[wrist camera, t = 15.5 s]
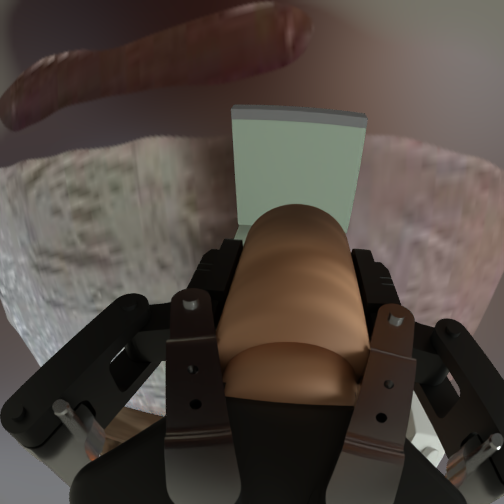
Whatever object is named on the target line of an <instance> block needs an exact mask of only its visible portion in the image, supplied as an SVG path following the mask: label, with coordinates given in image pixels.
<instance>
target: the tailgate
mask: <svg viewBox="0 0 504 504" xmlns="http://www.w3.org/2000/svg"><path fill="white" fill-rule="evenodd" d="M231 118H232V133H233V150H234V166H235V182H236V198H237V214H238V225H253V224H254V222H255V221H256V220H257V219H258V218H259V217H260V216H261V215H263V214H264V213H266V212H267V211H269V210H271V209H273V208H276V207H279V206H283V205H288V204H305V205H310V206H314V207H317V208H319V209H321V210H323V211H325V212H327V213H328V214H330V215H331V216H332V217H334V219H335V220H336V221H337V222H338V223H339V224H340V225H341V227H342V228H343V230H344V232H345V233H347V230H348V225H349V220H350V216H351V211H352V206H353V201H354V196H355V191H356V185H357V180H358V175H359V169H360V163H361V157H362V151H363V145H364V139H365V132H366V126H367V120H368V118H367V117H366V115H365V113H356V112H349V111H341V110H331V109H320V108H309V107H294V106H274V105H233V107H232V108H231Z"/></svg>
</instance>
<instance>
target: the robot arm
mask: <svg viewBox="0 0 504 504" xmlns="http://www.w3.org/2000/svg"><path fill="white" fill-rule="evenodd" d="M242 249H243V241H242V240H239V239H224V241H223V243H222V245H221V248H220V250H217V249H211V250H210V251H208V252H207V253H206V254H204V255H203V257H202V259H201V261H200V264H199V265H198V267H197V270H196V271H195V273H194V275H193V277H192V279H191V281H190V283H189V285H188V287H187V289H183V290H181V291H179V292H177V293H176V294H175V295H174V296H173V297H172V299H171V302H169V303H164V304H154V305H149V303H148V300H147V298H146V297H145V296H143V295H141V294H136V293H132V294H126V295H123V296H121V297H119V298H117V299H116V300H115V301H114V302H112V303H111V304H110V305H109V306H108V307H107V308H106V309H104V310H103V311H102V312H101V313H100V314H99V315H98V316H97V317H95V318H94V319H93V320H92V321H91V322H90V323H89V324H88V325H86V326H85V327H84V328H83V329H82V330H81V331H80V332H79V333H78V334H76V335H75V336H74V337H73V338H72V339H71V340H70V341H69V342H68V343H67V344H65V345H64V346H63V347H62V348H61V349H60V350H59V351H58V352H57V353H56V354H55V355H54V356H53V357H51V358H50V359H49V360H48V361H47V362H46V363H45V364H44V365H43V366H42V367H41V368H40V369H39V370H38V371H37V372H36V373H35V374H34V375H33V376H32V377H30V378H29V379H28V380H27V381H26V382H25V383H24V384H23V385H22V386H21V387H20V388H19V389H18V390H17V391H16V392H15V393H14V394H13V395H12V396H11V397H10V398H9V399H8V400H7V401H6V402H5V404H4V405H3V407H2V409H1V414H0V419H1V423H2V425H3V427H4V428H5V430H7V431H8V432H9V433H10V434H11V435H12V436H13V437H14V438H15V439H16V440H17V441H18V443H19V444H20V445H21V446H22V447H23V448H24V449H26V450H27V451H28V452H29V453H30V454H31V455H33V456H34V457H35V458H36V459H38V460H39V461H41V462H43V463H44V464H45V465H46V466H48V467H49V468H50V469H51V470H52V471H53V472H54V473H55V474H56V475H57V476H58V477H59V478H61V480H63V481H64V482H65V483H66V484H67V485H68V486H69V487H71V488H70V493H69V496H70V497H69V501H70V504H490V503H492V502H494V501H495V500H497V499H499V498H500V497H502V496H504V380H503V378H502V377H501V376H500V374H499V373H498V371H497V370H496V368H495V367H494V366H493V364H492V363H491V361H490V360H489V359H488V357H487V356H486V354H484V352H483V350H482V349H481V348H480V347H479V345H478V344H477V343H476V341H475V340H474V339H473V337H472V336H471V335H470V333H469V332H468V331H467V329H466V328H465V327H464V326H463V325H462V324H461V323H459V322H458V321H455V320H453V319H441V320H439V321H438V322H437V323H436V325H435V328H434V327H430V326H427V325H423V324H420V323H417V322H415V318H414V315H413V314H412V312H411V311H410V310H408V309H407V308H406V307H404V306H402V305H401V303H400V300H399V297H398V295H397V292H396V289H395V286H394V284H393V281H392V279H391V276H390V273H389V270H388V269H387V268H386V267H385V266H384V265H383V264H382V263H381V262H374V259H373V256H372V253H371V251H370V250H364V249H353V250H352V252H351V256H352V260H353V264H354V269H355V273H356V277H357V282H358V286H359V290H360V295H361V300H362V304H363V309H364V314H365V319H366V324H367V329H368V334H369V340H370V349H369V355H368V358H367V361H366V363H365V366H364V368H363V371H362V373H361V375H360V378H359V380H358V382H357V390H358V392H357V395H356V392H355V402H354V405H353V406H338V405H310V404H294V403H281V402H270V401H260V400H251V399H243V398H235V397H227V396H225V392H224V390H225V386H226V383H225V382H223V379H222V372H221V366H220V359H219V352H218V345H217V338H216V334H215V333H216V330H217V326H218V323H219V320H220V317H221V314H222V311H223V308H224V305H225V301H226V298H227V295H228V292H229V289H230V286H231V283H232V280H233V277H234V274H235V270H236V267H237V264H238V261H239V258H240V255H241V252H242ZM124 347H125V349H124V350H123V351H122V352H121V353H120V354H119V355H118V356H117V357H116V358H115V359H114V360H113V361H112V359H113V358H114V357H115V356H116V355H117V354H118V353H119V352H120V351H121V350H122V349H123V348H124ZM111 361H112V362H111ZM161 361H166V416H164V417H163V418H161V419H160V420H158V421H157V422H155V423H154V424H152V425H150V426H149V427H147V428H146V429H144V430H143V431H141V432H140V433H138V434H136V435H135V436H133V437H132V438H130V439H128V440H127V441H125V442H123V443H122V444H120V445H118V446H117V447H115V448H113V449H112V450H110V451H108V452H107V453H105V454H103V455H102V456H100V457H99V454H100V453H101V452H102V451H103V446H104V443H105V439H106V436H105V432H104V429H105V428H106V427H107V426H108V425H109V424H110V422H111V421H112V420H113V419H114V418H115V416H116V415H117V414H118V413H119V412H120V411H121V409H122V408H123V407H124V406H125V405H126V403H127V402H128V401H129V400H130V399H131V398H132V396H133V395H134V394H135V393H136V392H137V390H138V389H139V388H140V387H141V386H142V385H143V383H144V382H145V381H146V380H147V379H148V377H149V376H150V375H151V374H152V373H153V371H154V370H155V369H156V368H157V367H158V366H159V364H160V363H161ZM449 372H450V373H451V375H452V376H453V378H454V380H455V381H456V383H457V384H458V386H459V388H460V397H459V396H458V394H457V392H456V391H455V389H454V387H453V386H452V384H451V382H450V381H449V379H448V377H447V374H448V373H449ZM413 390H414V392H415V394H416V396H417V398H418V399H419V401H420V403H421V405H422V407H423V409H424V411H425V413H426V415H427V417H428V419H429V421H430V423H431V424H432V426H433V428H434V430H435V432H436V434H437V436H438V438H439V440H440V443H441V445H442V447H443V449H444V451H445V453H446V455H447V457H448V459H449V460H448V462H447V467H446V468H447V469H446V471H447V473H446V474H445V476H444V475H443V474H442V473H441V472H440V471H439V470H438V469H437V468H436V467H435V466H434V465H433V464H432V463H431V462H430V461H429V460H428V459H427V458H426V457H425V456H424V455H423V454H422V453H421V452H420V451H419V450H418V449H417V448H416V447H415V446H414V445H413V444H412V443H411V442H410V441H409V440H408V439H407V438H406V433H407V428H408V422H409V416H410V410H411V404H412V397H413Z"/></svg>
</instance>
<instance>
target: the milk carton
mask: <svg viewBox="0 0 504 504" xmlns="http://www.w3.org/2000/svg"><path fill="white" fill-rule="evenodd" d="M406 438H407V439H408V440H409V441H410V442H411V443H412V444H413V445H414V446H415V447H416V448H417V449H418V450H419V451H420V452H421V453H422V454H423V455H424V456H425V457H426V458H427V459H428V460H429V461H430V462H431V463H432V464H433V465H434V466H435V467H437V466H438V464H439V462H440V461H441V459H442V457H443V455H444V454H445V451H444V449H443V447H442V445H441V443H440V440H439V438H438V436H437V434H436V432H435V430H434V428H433V426H432V424H431V423H430V421H429V419H428V417H427V415H426V413H425V411H424V409H423V407H422V405H421V403H420V401H419V399H418V398H417V396H416V394H415V392H414V390H413V397H412V404H411V410H410V416H409V422H408V428H407V433H406Z"/></svg>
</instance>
